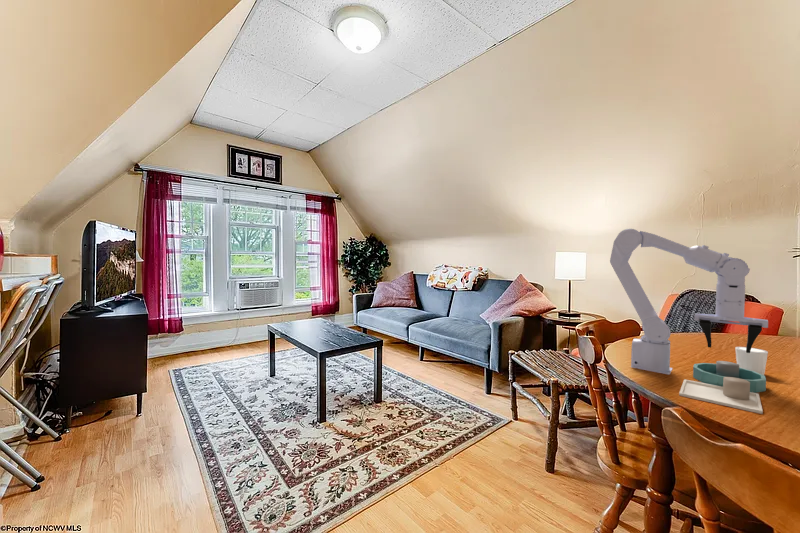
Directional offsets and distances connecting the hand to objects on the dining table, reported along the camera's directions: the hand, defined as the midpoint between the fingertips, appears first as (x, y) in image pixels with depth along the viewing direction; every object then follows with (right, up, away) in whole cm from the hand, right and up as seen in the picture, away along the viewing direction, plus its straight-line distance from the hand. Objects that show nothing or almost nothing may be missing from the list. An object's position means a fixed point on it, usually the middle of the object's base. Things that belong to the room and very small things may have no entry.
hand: (728, 349), depth 94 cm
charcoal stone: (0, -8, 0) cm, 8 cm away
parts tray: (-13, -9, -11) cm, 20 cm away
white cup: (+14, -9, +7) cm, 18 cm away
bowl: (-2, -9, -2) cm, 9 cm away
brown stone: (-10, -9, -12) cm, 17 cm away
